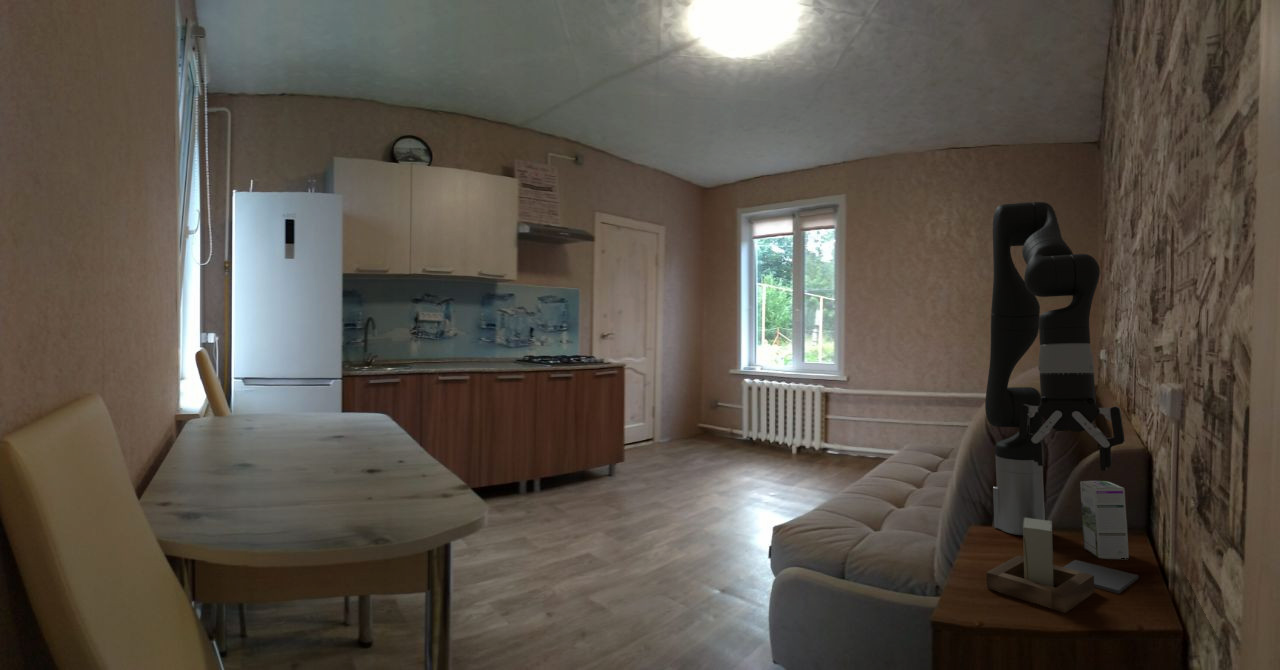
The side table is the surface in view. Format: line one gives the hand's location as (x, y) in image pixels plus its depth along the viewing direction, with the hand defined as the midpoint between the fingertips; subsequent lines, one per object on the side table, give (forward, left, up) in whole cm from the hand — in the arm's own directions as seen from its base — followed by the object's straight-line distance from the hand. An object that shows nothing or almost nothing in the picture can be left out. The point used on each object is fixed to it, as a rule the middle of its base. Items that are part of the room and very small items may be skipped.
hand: (1071, 467), depth 99 cm
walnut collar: (-7, +3, -24) cm, 25 cm away
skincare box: (-7, +3, -24) cm, 25 cm away
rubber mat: (-3, +17, -24) cm, 29 cm away
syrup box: (-6, +31, -24) cm, 40 cm away
